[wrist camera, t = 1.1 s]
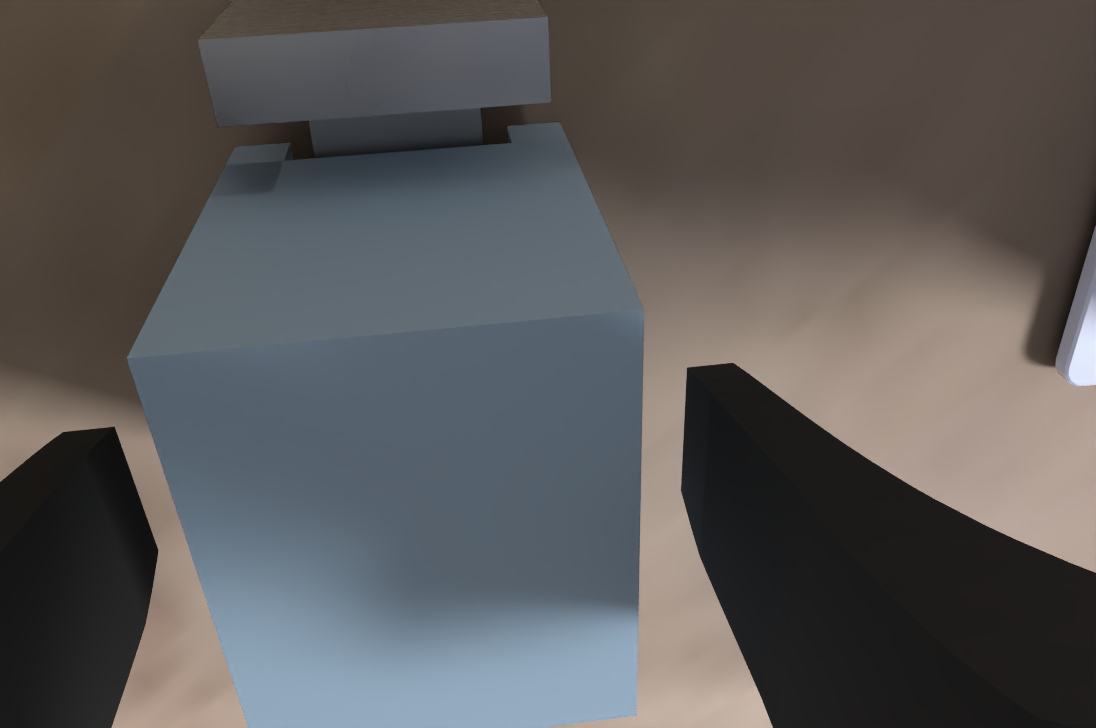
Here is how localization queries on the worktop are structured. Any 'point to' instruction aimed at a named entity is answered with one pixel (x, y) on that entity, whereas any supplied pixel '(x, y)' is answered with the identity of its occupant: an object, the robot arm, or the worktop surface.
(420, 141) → the rail
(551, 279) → the block
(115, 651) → the robot arm
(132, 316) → the worktop surface
